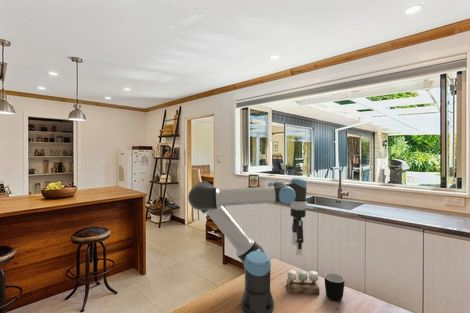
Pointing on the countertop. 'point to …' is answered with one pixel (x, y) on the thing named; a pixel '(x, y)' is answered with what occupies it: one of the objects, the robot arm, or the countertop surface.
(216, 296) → the countertop surface
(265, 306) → the robot arm
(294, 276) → the knob left
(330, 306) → the countertop surface
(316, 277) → the knob right
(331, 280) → the mug
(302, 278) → the knob mid
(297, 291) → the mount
